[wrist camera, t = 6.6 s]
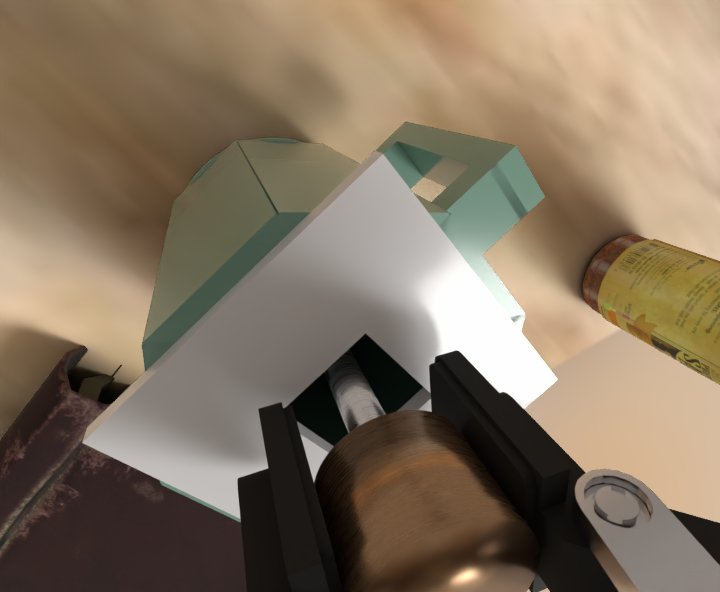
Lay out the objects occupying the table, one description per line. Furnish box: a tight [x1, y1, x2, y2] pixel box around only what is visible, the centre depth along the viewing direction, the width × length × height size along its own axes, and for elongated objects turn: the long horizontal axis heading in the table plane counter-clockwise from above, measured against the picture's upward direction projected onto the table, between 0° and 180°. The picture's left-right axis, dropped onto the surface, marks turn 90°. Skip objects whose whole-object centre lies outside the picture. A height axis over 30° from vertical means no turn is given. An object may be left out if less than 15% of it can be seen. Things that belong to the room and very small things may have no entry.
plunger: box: [314, 349, 541, 592], centre depth 14 cm, size 7×7×15 cm
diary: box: [0, 346, 247, 592], centre depth 28 cm, size 19×25×5 cm
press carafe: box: [82, 122, 558, 522], centre depth 18 cm, size 10×13×14 cm
